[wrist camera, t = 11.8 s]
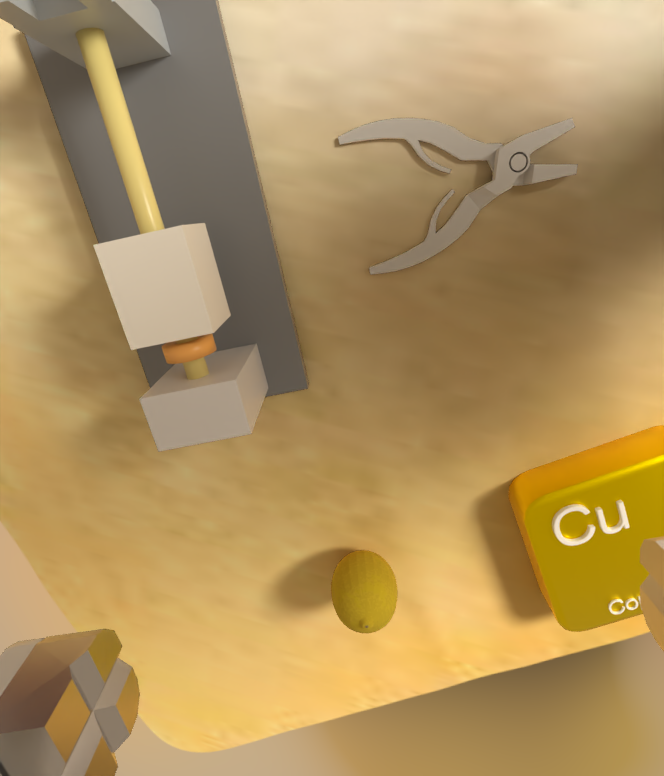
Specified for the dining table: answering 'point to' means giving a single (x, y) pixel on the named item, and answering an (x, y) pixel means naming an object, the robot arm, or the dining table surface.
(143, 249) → the sleeve
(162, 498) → the dining table surface
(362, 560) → the lemon
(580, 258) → the dining table surface
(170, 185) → the cord rig
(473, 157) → the pliers
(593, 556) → the element tile
